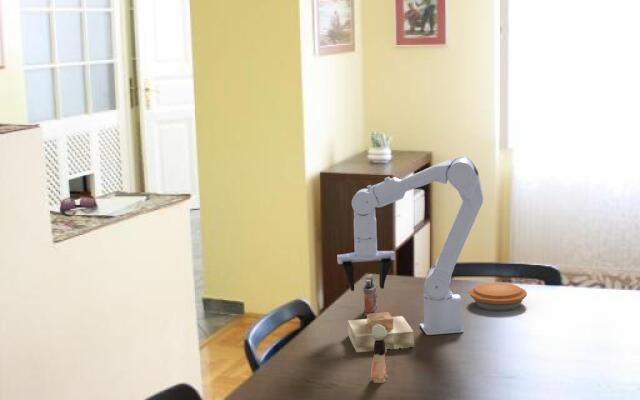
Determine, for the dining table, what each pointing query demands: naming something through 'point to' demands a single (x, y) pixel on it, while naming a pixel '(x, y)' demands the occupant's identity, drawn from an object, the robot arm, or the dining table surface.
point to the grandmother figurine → (379, 354)
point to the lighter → (370, 296)
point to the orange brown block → (380, 320)
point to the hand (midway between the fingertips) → (367, 288)
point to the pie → (498, 296)
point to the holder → (393, 340)
